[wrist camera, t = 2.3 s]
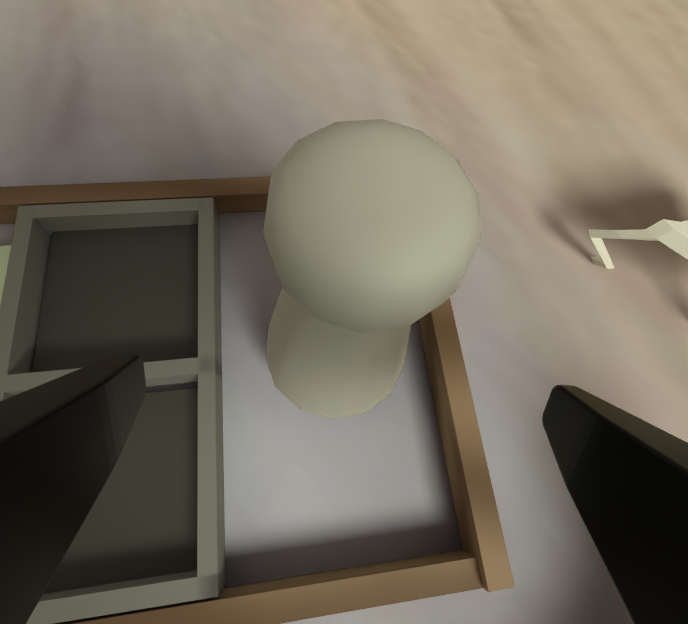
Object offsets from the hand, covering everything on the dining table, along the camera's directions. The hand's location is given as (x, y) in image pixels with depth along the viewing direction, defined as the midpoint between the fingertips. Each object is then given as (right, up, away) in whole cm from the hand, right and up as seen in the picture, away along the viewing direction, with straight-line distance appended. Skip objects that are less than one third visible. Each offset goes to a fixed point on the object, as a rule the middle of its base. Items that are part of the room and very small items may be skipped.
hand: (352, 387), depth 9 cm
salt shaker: (-1, -1, +11) cm, 11 cm away
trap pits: (-10, -1, +9) cm, 14 cm away
